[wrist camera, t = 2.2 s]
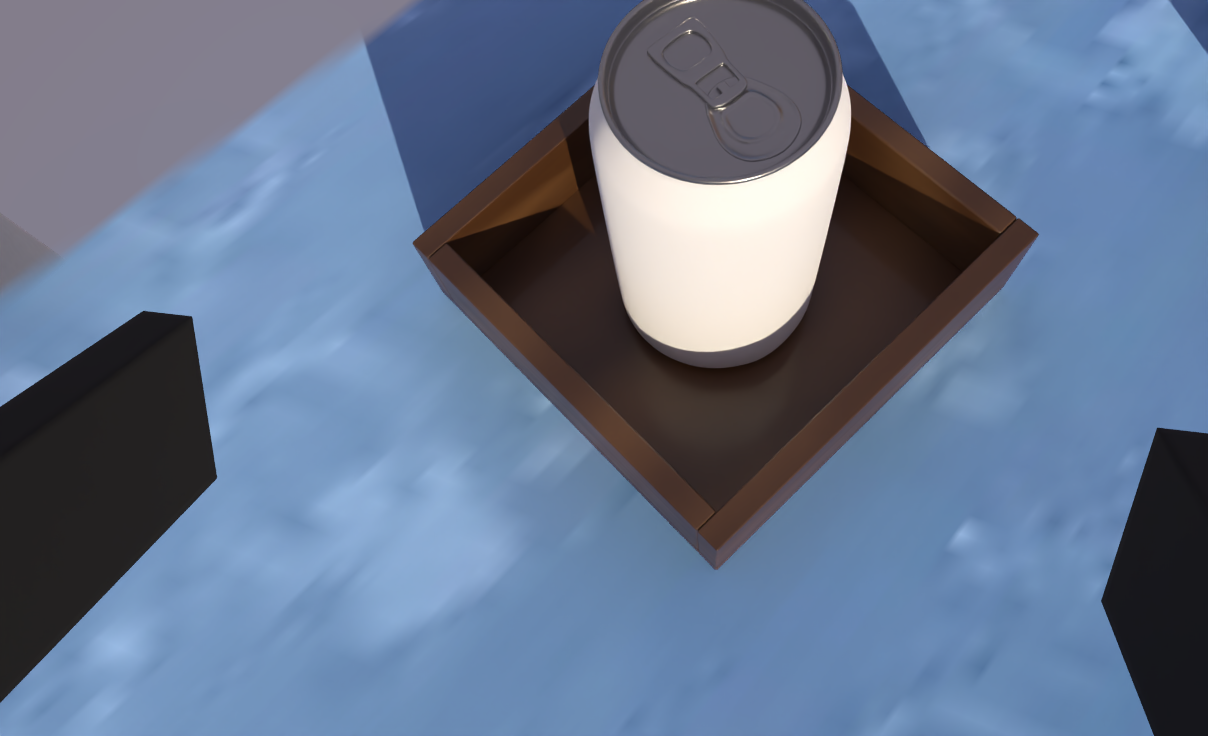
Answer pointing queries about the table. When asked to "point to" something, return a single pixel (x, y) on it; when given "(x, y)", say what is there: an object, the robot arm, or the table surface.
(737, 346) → the can
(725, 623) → the table surface
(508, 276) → the wooden box
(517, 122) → the table surface
